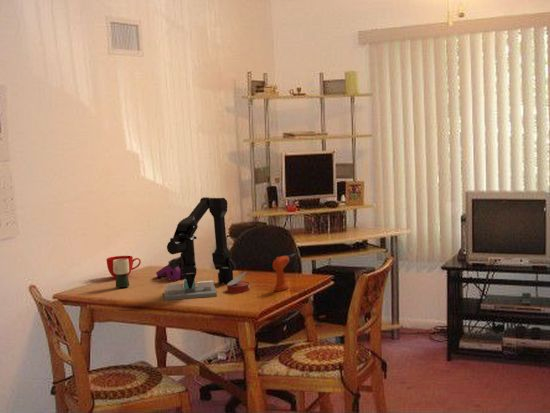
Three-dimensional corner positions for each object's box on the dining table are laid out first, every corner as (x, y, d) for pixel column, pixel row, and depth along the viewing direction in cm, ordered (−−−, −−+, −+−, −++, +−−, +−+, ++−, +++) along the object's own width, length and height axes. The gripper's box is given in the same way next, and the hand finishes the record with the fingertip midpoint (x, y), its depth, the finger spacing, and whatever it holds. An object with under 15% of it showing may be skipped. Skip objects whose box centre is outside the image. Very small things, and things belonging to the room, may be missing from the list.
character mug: (124, 284, 342) (122, 257, 341) (136, 285, 339) (134, 258, 338) (108, 289, 332) (106, 261, 331) (121, 290, 329) (119, 262, 328)
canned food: (243, 303, 311) (238, 285, 306) (225, 298, 317) (219, 281, 312) (257, 286, 319) (252, 269, 314) (238, 282, 324) (233, 265, 319)
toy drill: (302, 279, 324) (299, 247, 321) (282, 293, 308) (278, 260, 305) (293, 279, 326) (289, 247, 323) (272, 292, 311) (268, 259, 308)
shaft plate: (214, 288, 321) (214, 277, 321) (216, 296, 305) (216, 284, 305) (165, 292, 318) (164, 281, 318) (164, 300, 303) (163, 288, 302)
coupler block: (195, 289, 314) (195, 278, 314) (196, 291, 310) (195, 279, 310) (184, 290, 313) (183, 279, 313) (184, 292, 309) (183, 280, 309)
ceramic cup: (144, 276, 360) (143, 257, 360) (110, 281, 354) (108, 260, 353) (138, 273, 372) (137, 254, 371) (105, 276, 366) (104, 257, 365)
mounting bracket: (158, 290, 354) (178, 277, 343) (152, 274, 356) (172, 261, 345) (173, 287, 361) (193, 274, 350) (167, 271, 363) (187, 258, 352)
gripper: (169, 249, 318) (171, 283, 320) (168, 255, 300) (170, 292, 301) (194, 247, 320) (196, 281, 321) (195, 253, 301) (197, 290, 303)
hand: (189, 286), depth 312 cm, fingers open, 9 cm apart
